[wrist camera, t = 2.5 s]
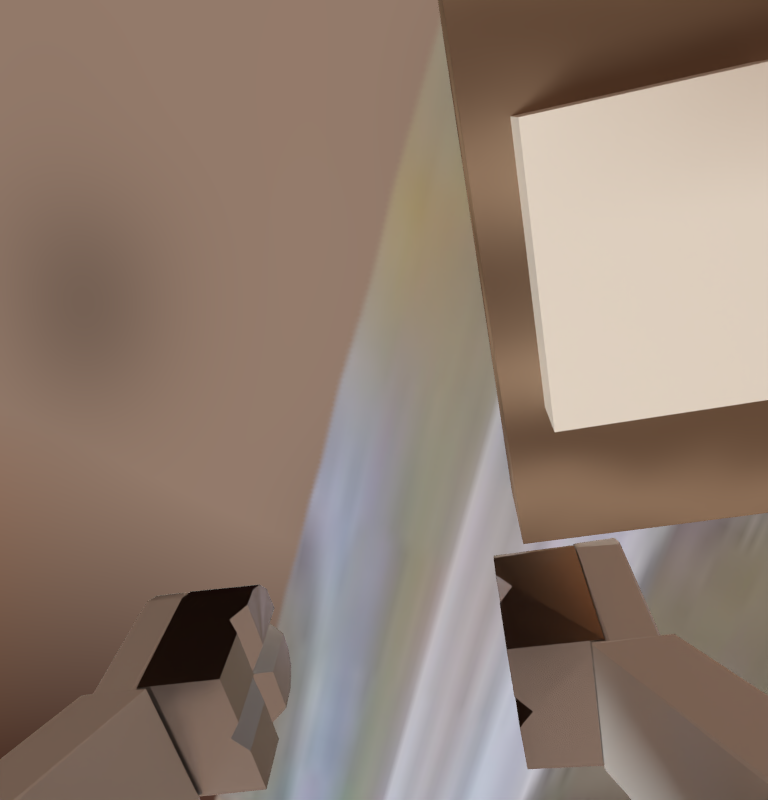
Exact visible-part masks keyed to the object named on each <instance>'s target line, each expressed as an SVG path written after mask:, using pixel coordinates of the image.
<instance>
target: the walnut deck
mask: <svg viewBox="0 0 768 800" xmlns="http://www.w3.org/2000/svg"><path fill="white" fill-rule="evenodd" d="M438 5H439V11H440V18H441V24H442V31H443V38H444V44H445V51H446V57H447V64H448V71H449V77H450V84H451V91H452V97H453V104H454V110H455V117H456V124H457V130H458V137H459V144H460V150H461V157H462V163H463V170H464V177H465V183H466V190H467V196H468V203H469V210H470V216H471V223H472V230H473V236H474V243H475V249H476V256H477V263H478V269H479V276H480V283H481V289H482V296H483V302H484V309H485V316H486V322H487V329H488V335H489V342H490V349H491V355H492V362H493V369H494V375H495V382H496V388H497V395H498V402H499V408H500V415H501V422H502V428H503V435H504V441H505V448H506V455H507V461H508V468H509V474H510V481H511V488H512V493H513V498H514V503H515V507H516V512H517V516H518V521H519V526H520V530H521V535H522V540H523V544H527V543H535V542H542V541H550V540H558V539H566V538H574V537H581V536H589V535H597V534H605V533H613V532H620V531H628V530H636V529H644V528H652V527H659V526H667V525H675V524H683V523H691V522H698V521H706V520H714V519H722V518H730V517H738V516H745V515H753V514H761V513H768V400H764V401H758V402H751V403H744V404H738V405H731V406H725V407H718V408H711V409H705V410H698V411H692V412H685V413H679V414H672V415H665V416H659V417H652V418H646V419H639V420H632V421H626V422H619V423H613V424H606V425H600V426H593V427H586V428H580V429H573V430H567V431H560V432H554V429H553V427H552V424H551V422H550V419H549V416H548V414H547V411H546V409H545V403H544V395H543V387H542V378H541V370H540V361H539V353H538V345H537V336H536V328H535V320H534V311H533V303H532V294H531V286H530V278H529V269H528V261H527V252H526V244H525V236H524V227H523V219H522V211H521V202H520V194H519V185H518V177H517V169H516V160H515V152H514V144H513V135H512V127H511V118H510V116H514V115H518V114H523V113H527V112H532V111H536V110H541V109H545V108H550V107H554V106H559V105H563V104H568V103H572V102H577V101H581V100H585V99H590V98H594V97H599V96H603V95H608V94H612V93H617V92H621V91H626V90H630V89H635V88H639V87H644V86H648V85H652V84H657V83H661V82H666V81H670V80H675V79H679V78H684V77H688V76H693V75H697V74H702V73H706V72H711V71H715V70H719V69H724V68H728V67H733V66H737V65H742V64H746V63H751V62H757V61H764V60H768V0H438Z"/></svg>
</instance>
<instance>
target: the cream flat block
mask: <svg viewBox="0 0 768 800" xmlns="http://www.w3.org/2000/svg"><path fill="white" fill-rule="evenodd" d="M510 118H511V127H512V135H513V144H514V152H515V160H516V169H517V177H518V185H519V194H520V202H521V211H522V219H523V227H524V236H525V244H526V252H527V261H528V269H529V278H530V286H531V294H532V303H533V311H534V320H535V328H536V336H537V345H538V353H539V361H540V370H541V378H542V387H543V395H544V403H545V409H546V411H547V414H548V416H549V419H550V422H551V424H552V427H553V429H554V432H560V431H567V430H573V429H580V428H586V427H593V426H600V425H606V424H613V423H619V422H626V421H632V420H639V419H646V418H652V417H659V416H665V415H672V414H679V413H685V412H692V411H698V410H705V409H711V408H718V407H725V406H731V405H738V404H744V403H751V402H758V401H764V400H768V60H764V61H757V62H751V63H746V64H742V65H737V66H733V67H728V68H724V69H719V70H715V71H711V72H706V73H702V74H697V75H693V76H688V77H684V78H679V79H675V80H670V81H666V82H661V83H657V84H652V85H648V86H644V87H639V88H635V89H630V90H626V91H621V92H617V93H612V94H608V95H603V96H599V97H594V98H590V99H585V100H581V101H577V102H572V103H568V104H563V105H559V106H554V107H550V108H545V109H541V110H536V111H532V112H527V113H523V114H518V115H514V116H510Z"/></svg>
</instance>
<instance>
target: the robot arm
mask: <svg viewBox="0 0 768 800" xmlns="http://www.w3.org/2000/svg"><path fill="white" fill-rule="evenodd" d="M494 565H495V572H496V579H497V585H498V591H499V598H500V608H501V614H502V621H503V628H504V634H505V641H506V648H507V654H508V660H509V666H510V672H511V678H512V684H513V690H514V696H515V698H516V705H517V712H518V718H519V725H520V731H521V736H522V741H523V746H524V752H525V757H526V762H527V767H528V769H540V768H561V767H582V766H603V765H605V770H606V771H607V772H608V773H609V775H610V776H611V777H612V778H613V779H614V780H615V781H616V782H617V784H618V785H619V786H620V787H621V788H622V789H623V790H624V791H625V793H626V794H627V795H628V796H629V797H630V798H631V799H632V800H768V695H766V694H765V693H763V692H762V691H760V690H759V689H757V688H756V687H754V686H753V685H751V684H750V683H748V682H747V681H745V680H744V679H742V678H740V677H739V676H737V675H736V674H734V673H733V672H731V671H730V670H728V669H727V668H725V667H724V666H722V665H721V664H719V663H718V662H716V661H715V660H713V659H712V658H710V657H708V656H707V655H705V654H704V653H702V652H701V651H699V650H698V649H696V648H695V647H693V646H692V645H690V644H689V643H687V642H686V641H684V640H683V639H681V638H680V637H678V636H676V635H675V634H671V635H660V633H659V631H658V628H657V626H656V624H655V622H654V619H653V617H652V615H651V613H650V610H649V608H648V606H647V604H646V601H645V599H644V597H643V595H642V592H641V590H640V588H639V586H638V583H637V581H636V579H635V577H634V574H633V572H632V570H631V567H630V565H629V563H628V561H627V558H626V556H625V554H624V552H623V549H622V547H621V545H620V543H619V542H618V541H617V540H616V539H615V538H610V539H603V540H597V541H590V542H584V543H577V544H574V545H573V546H565V547H557V548H549V549H542V550H534V551H526V552H519V553H511V554H503V555H496V556H494ZM273 610H274V606H273V604H272V601H271V599H270V597H269V594H268V591H267V589H266V588H264V587H262V586H261V585H251V586H242V587H232V588H222V589H213V590H203V591H192V592H190V593H179V594H169V595H160V596H155V597H154V598H152V599H151V600H149V601H147V603H146V604H145V606H144V608H143V609H142V611H141V613H140V615H139V616H138V618H137V619H136V621H135V623H134V625H133V626H132V628H131V630H130V632H129V633H128V635H127V637H126V639H125V640H124V642H123V644H122V645H121V647H120V649H119V650H118V652H117V654H116V656H115V657H114V659H113V661H112V663H111V664H110V666H109V668H108V670H107V671H106V673H105V675H104V676H103V678H102V680H101V681H100V683H99V685H98V687H97V689H96V690H95V692H94V694H91V695H82V696H80V697H79V698H78V699H77V700H75V701H74V702H73V703H71V704H70V705H69V706H68V707H66V708H65V709H64V710H63V711H61V712H60V713H59V714H57V715H56V716H55V717H54V718H52V719H51V720H50V721H48V722H47V723H46V724H45V725H43V726H42V727H41V728H40V729H38V730H37V731H36V732H34V733H33V734H32V735H31V736H29V737H28V738H27V739H26V740H24V741H23V742H22V743H20V744H19V745H18V746H17V747H15V748H14V749H13V750H11V751H10V752H9V753H8V754H7V755H5V756H4V757H3V758H1V759H0V800H200V798H199V796H208V795H217V794H226V793H235V792H245V791H254V790H263V789H267V785H268V781H269V777H270V772H271V768H272V764H273V760H274V756H275V752H276V748H277V744H278V740H279V738H278V736H277V733H276V730H275V728H274V725H273V721H274V720H275V719H276V718H277V717H278V716H279V715H280V714H281V713H282V712H283V711H284V710H285V709H286V706H287V702H288V697H289V693H290V688H291V662H290V656H289V650H288V646H287V643H286V640H285V637H284V634H283V633H282V632H281V631H279V630H278V629H277V628H275V627H274V626H272V625H271V624H270V620H271V617H272V613H273Z"/></svg>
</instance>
